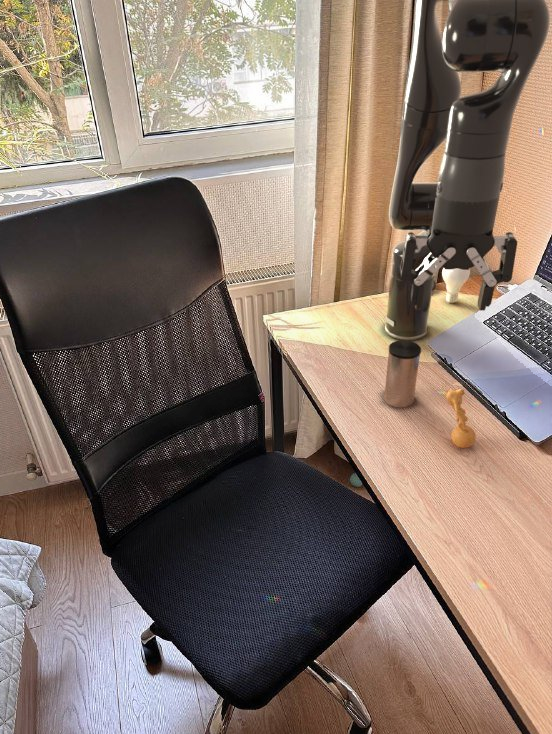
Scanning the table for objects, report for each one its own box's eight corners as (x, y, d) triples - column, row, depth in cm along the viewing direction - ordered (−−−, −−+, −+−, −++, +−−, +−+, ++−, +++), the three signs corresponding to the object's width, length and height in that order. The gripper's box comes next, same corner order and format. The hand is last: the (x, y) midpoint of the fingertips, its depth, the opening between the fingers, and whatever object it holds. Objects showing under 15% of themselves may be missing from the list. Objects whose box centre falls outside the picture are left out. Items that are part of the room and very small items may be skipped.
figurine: (478, 461, 99) (491, 404, 92) (441, 460, 99) (452, 403, 92) (468, 430, 105) (480, 375, 98) (434, 429, 106) (443, 374, 99)
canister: (383, 389, 117) (388, 339, 110) (412, 391, 116) (419, 340, 109) (384, 407, 112) (389, 356, 105) (415, 408, 111) (422, 357, 104)
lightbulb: (469, 301, 145) (476, 259, 139) (456, 310, 141) (464, 267, 135) (445, 294, 149) (452, 253, 142) (433, 303, 145) (439, 261, 139)
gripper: (522, 180, 74) (497, 296, 84) (407, 181, 76) (395, 294, 86) (536, 199, 68) (507, 321, 78) (411, 200, 70) (398, 319, 80)
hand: (449, 307), depth 82 cm, fingers open, 8 cm apart
